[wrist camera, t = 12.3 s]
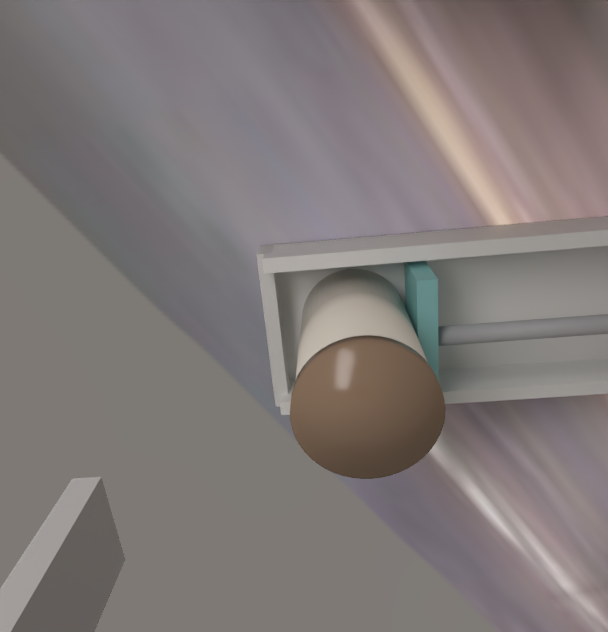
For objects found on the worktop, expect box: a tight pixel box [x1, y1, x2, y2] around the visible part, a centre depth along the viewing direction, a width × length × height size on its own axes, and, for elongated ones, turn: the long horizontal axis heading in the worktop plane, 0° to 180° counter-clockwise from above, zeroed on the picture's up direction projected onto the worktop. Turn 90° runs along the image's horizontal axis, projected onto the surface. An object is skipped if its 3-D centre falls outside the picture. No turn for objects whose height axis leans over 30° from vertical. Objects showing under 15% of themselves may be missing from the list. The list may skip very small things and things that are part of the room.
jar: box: [290, 269, 445, 479], centre depth 27 cm, size 6×6×11 cm
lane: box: [257, 216, 608, 415], centre depth 30 cm, size 9×22×5 cm, turn 95°
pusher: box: [404, 261, 608, 382], centre depth 29 cm, size 7×18×4 cm, turn 95°
